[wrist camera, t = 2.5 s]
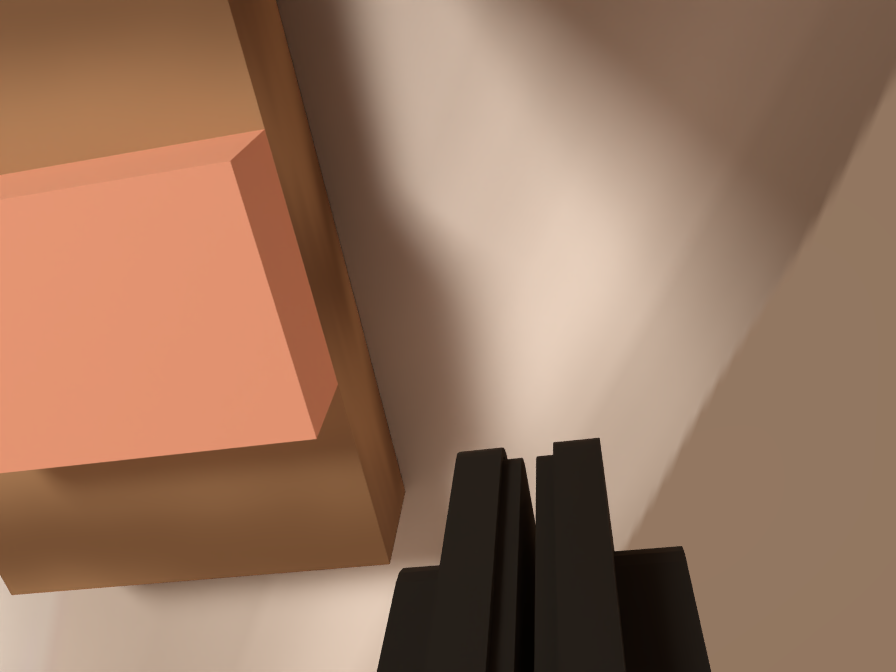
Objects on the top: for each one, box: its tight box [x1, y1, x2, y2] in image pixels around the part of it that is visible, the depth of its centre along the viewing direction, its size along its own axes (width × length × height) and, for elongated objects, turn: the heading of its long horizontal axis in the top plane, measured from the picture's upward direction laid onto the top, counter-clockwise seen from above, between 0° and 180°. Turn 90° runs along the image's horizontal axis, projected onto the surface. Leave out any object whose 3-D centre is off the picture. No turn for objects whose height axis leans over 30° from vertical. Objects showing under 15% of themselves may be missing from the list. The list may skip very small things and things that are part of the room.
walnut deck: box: [0, 0, 405, 595], centre depth 21 cm, size 17×11×3 cm, turn 11°
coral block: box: [0, 129, 338, 473], centre depth 18 cm, size 6×9×2 cm, turn 101°
